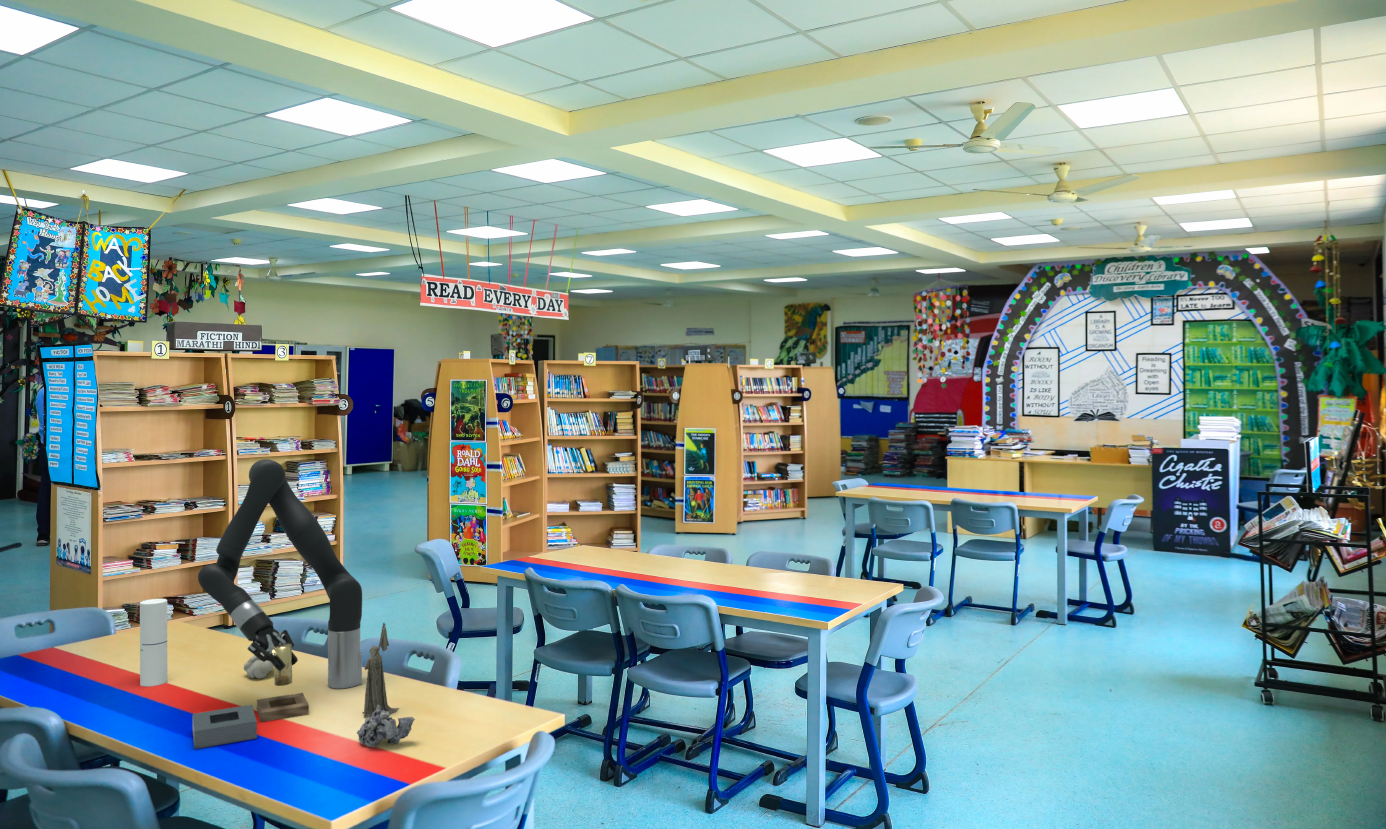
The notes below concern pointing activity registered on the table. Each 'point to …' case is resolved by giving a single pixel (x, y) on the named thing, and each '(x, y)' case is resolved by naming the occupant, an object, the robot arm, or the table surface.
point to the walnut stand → (282, 707)
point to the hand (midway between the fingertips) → (288, 665)
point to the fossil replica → (257, 667)
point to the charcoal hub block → (224, 726)
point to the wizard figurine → (376, 679)
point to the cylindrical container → (153, 642)
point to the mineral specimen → (383, 728)
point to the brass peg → (286, 656)
